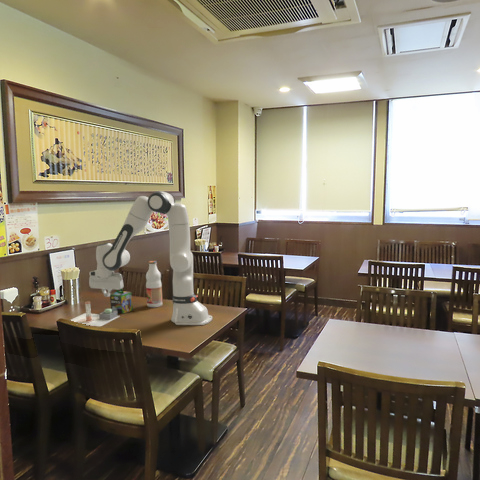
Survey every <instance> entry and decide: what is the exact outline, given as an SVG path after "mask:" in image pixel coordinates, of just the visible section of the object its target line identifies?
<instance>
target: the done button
mask: <svg viewBox="0 0 480 480" xmlns="http://www.w3.org/2000/svg"><path fill="white" fill-rule="evenodd" d="M104 311H105V314H110V313H112V309H111V307H110V308H104Z"/></svg>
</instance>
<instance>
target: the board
mask: <svg viewBox="0 0 480 480" xmlns="http://www.w3.org/2000/svg"><path fill="white" fill-rule="evenodd" d="M118 314H119V313H117V311H112V313H110V314H105V310H103V311H102V312H99V313H91V316H92V320H91V321H86V312H85V313H82V314H80V315H78V316H75V317H74V318H71V319H70V320H71V321H74V322H78V323H82V324H86V325H85V326H89V325H90V326H92V327H103V326H104V325H107V324H109V323H110V322H112V321H113V320H116V319H117V318H120V317H121V315H118Z"/></svg>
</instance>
